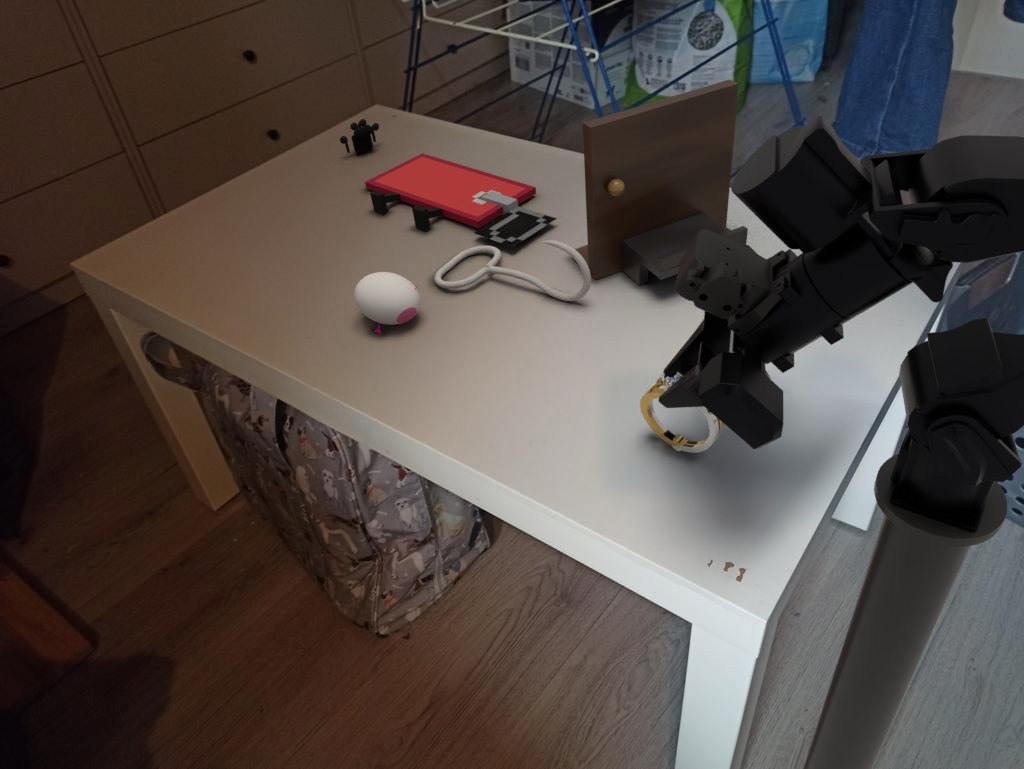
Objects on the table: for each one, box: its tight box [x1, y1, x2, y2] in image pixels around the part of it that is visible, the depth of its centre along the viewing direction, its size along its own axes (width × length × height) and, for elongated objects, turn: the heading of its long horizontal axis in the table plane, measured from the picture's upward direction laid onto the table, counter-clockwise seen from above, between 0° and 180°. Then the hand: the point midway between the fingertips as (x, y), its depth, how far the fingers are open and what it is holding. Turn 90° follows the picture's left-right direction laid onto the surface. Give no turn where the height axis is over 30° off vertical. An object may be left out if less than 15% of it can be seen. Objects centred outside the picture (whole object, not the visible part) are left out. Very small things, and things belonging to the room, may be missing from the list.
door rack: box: [571, 79, 749, 286], centre depth 86 cm, size 13×18×18 cm
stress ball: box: [353, 271, 421, 335], centre depth 87 cm, size 8×8×7 cm
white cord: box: [433, 240, 592, 302], centre depth 89 cm, size 7×9×20 cm
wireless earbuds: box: [339, 118, 380, 155], centre depth 122 cm, size 7×2×5 cm, turn 131°
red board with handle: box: [364, 152, 557, 248], centre depth 106 cm, size 30×3×15 cm
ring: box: [639, 372, 724, 453], centre depth 67 cm, size 7×3×8 cm, turn 49°
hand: (664, 389), depth 65 cm, fingers closed on ring, 3 cm apart
